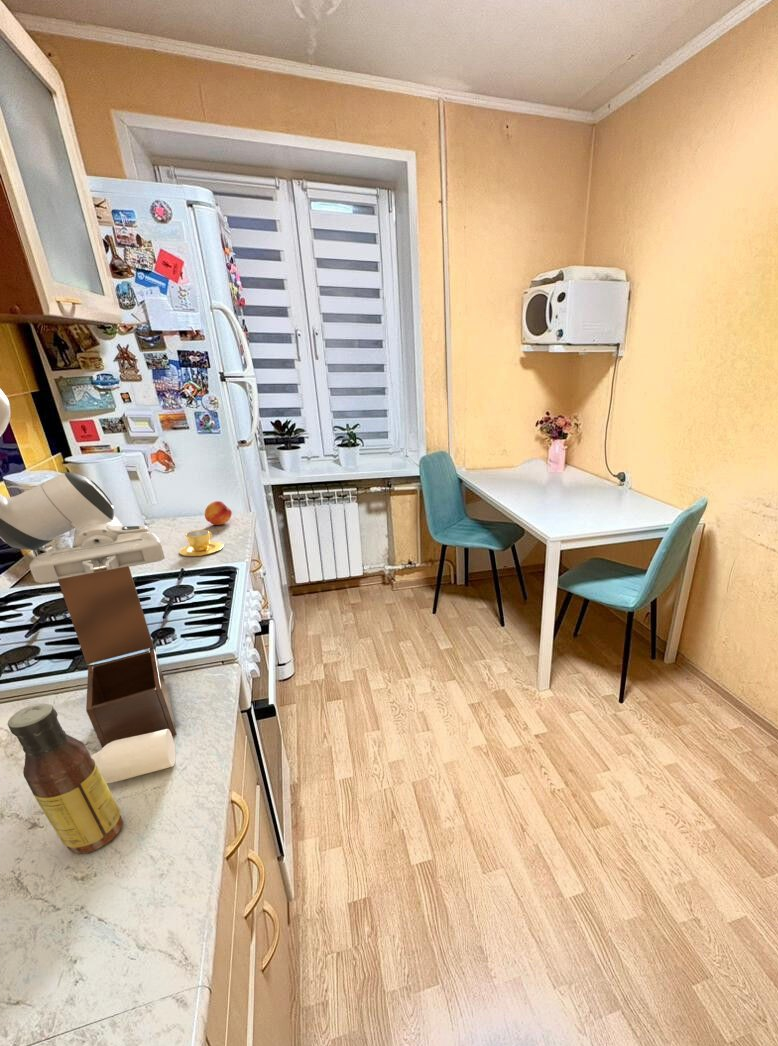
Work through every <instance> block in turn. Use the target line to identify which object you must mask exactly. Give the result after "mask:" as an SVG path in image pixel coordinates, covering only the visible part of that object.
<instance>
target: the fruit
mask: <svg viewBox="0 0 778 1046" xmlns="http://www.w3.org/2000/svg"><path fill="white" fill-rule="evenodd" d="M232 515H233V511H232V510H231V509H230V508H229V507H228V506H227V505H226V504H225V503H224V502H223V501H221V500H215V501H213V502H210V503H209V504H208V505H207V506H206V508H205V510H204V518H205V520H206V521H207V522H209V523H210V524H211V525H214V526H220V525H224V524H225V523H227V522H229V521H230V519H231V518H232Z"/></svg>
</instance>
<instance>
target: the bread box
mask: <svg viewBox="0 0 778 1046" xmlns="http://www.w3.org/2000/svg"><path fill="white" fill-rule="evenodd" d="M168 692H169V689H168V685H167V683H166V680H165V676H164V674H163V671H162V668H161V665H160V662H159V659H158V656H157V653H156V649H150V650H146V651H141V652H138V653H135V654H134V653H133V654H131V655H127V656H122V657H120V658H116V659H111V660H107V661H103V662H101V663H100V662H99V663H96V664H92V665H89V666H87V682H86V704H85V711H86V714H87V715H88V718H89V721H90V722H91V725H92V728H93V730H94V732H95V735H96V737H97V740H98V743H99V745H100V746H101V749H102V748H103V747H104V746H105V745H107V744H108V743H110V742H112V741H116V740H119V739H124V738H129V737H133V736H138V735H143V734H147V733H151V732H156V731H160V730H165V729H169V730H170V732H171V734H172V737H173V738H174V737H175V736H177V728H176V724H175V717H174V713H173V707H172V703H170V702H171V697H170V693H168Z"/></svg>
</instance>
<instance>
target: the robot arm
mask: <svg viewBox="0 0 778 1046" xmlns="http://www.w3.org/2000/svg"><path fill="white" fill-rule="evenodd" d="M11 413H12V412H11V404H10V400H9V398H8V397H7V395H6V394H5V393H4V391H3V390H2V388H1V387H0V438H1V437H2V435H3V434H4V432H6V429H7V427H8V425H9V423H10V420H11ZM74 529H75V530H74ZM72 530H74V535H73V540H72V547H67V548H61V549H55V550H49V551H46V552H45V551H44V552H42V553H40V554H38V555H36V556H34V558H33V559H31V562H30V563H29V570H30V572H31V575H32V578H33V580H34V581H35V582H36V583H38V584H45V583H51V582H55V581H56V582H57V581H58V579H61V578H66V577H71V576H77V575H82V574H88V573H93V572H98V571H104V570H109V569H114V568H120V567H125V566H129V568H131V567H135V566H141V565H146V564H152V563H157V562H161V561H163V560H165V557H166V556H165V553H164V549H163V547H162V544H161V541H160V539H159V538H158V536H157V535H156V534H155V533H153V532H151V531H150V530H149V528H148V526H147V525H131V526H130V525H128V526H127V525H126V526H124V525H123V523H122V522H121V521H120V520H119V518H118V517H117V516H115V507H114V505H113V503H112V501H111V499H110V497H108V495H107V494H106V493H105V492H104V491H103V490H102V488H101V487H100V486H99V485H98V484H96V482H94V481H93V480H92V479H90V478H88V477H87V476H84V475H81V474H78V473H74V472H67V471H65V472H63V473H60V474H59V475H56V476H54V477H52V478H50V479H48V480H46V481H44V482H41V483H40V484H38V485H36V486H34V487H31V488H30V489H28V490H25V491H23V492H21V493H19V494H17V495H13V496H3V495H2V494H1V493H0V539H1V540H2V541H3V542H4V543H5V544H7V545H8V546H9V547H11V548H14V549H19V550H27V551H37V550H39V549H41V548H43V547H44V546H46V545H47V544H49V543H51V542H52V541H54V540H55V539H56V538H58V537H60V536H62V535H65V534H67V533H68V532H70V531H72Z"/></svg>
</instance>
